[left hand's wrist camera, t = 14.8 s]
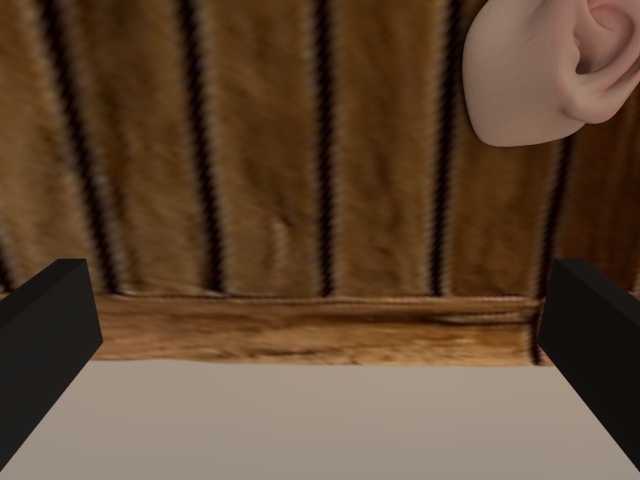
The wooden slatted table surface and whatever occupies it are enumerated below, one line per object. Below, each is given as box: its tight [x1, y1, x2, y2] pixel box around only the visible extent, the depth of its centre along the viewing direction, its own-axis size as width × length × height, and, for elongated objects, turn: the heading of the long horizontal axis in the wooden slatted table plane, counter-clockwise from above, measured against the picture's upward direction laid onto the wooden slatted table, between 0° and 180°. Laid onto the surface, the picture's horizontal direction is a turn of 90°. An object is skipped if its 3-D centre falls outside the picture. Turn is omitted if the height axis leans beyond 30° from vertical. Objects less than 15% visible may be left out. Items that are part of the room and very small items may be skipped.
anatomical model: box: [462, 0, 640, 147], centre depth 27 cm, size 13×4×12 cm
